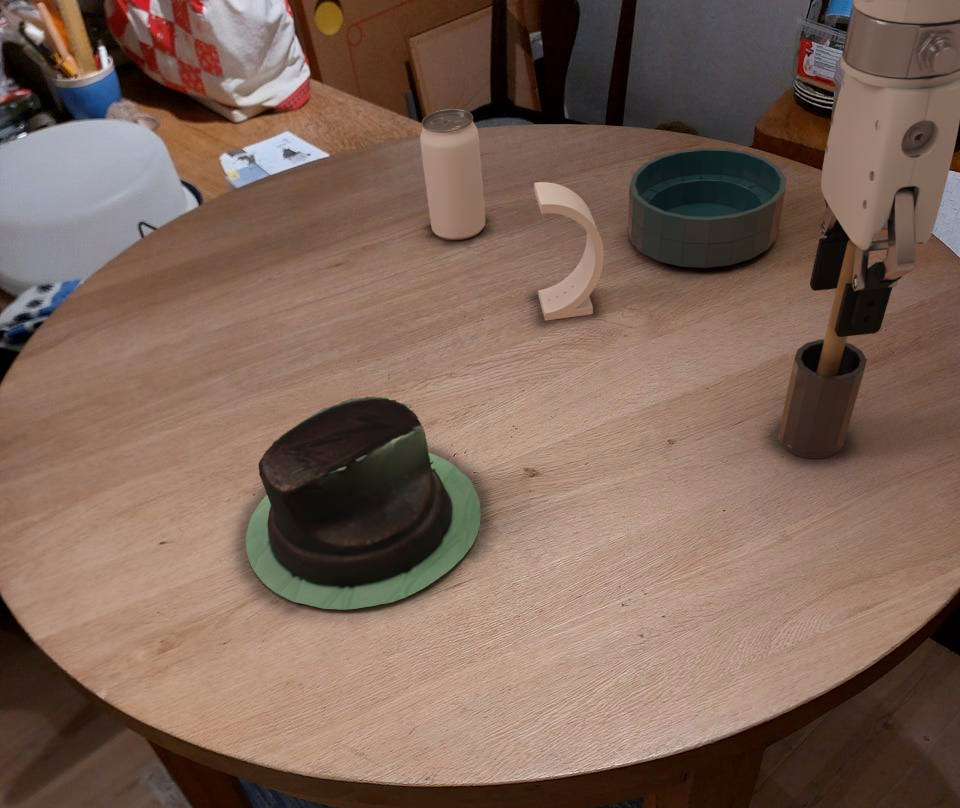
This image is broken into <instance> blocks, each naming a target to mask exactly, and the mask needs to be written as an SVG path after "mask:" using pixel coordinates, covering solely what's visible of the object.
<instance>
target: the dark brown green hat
mask: <svg viewBox="0 0 960 808" xmlns="http://www.w3.org/2000/svg"><path fill="white" fill-rule="evenodd" d="M408 406H409V407H408ZM412 407H413V406H411V403H410V402H402V403H401V402H399V400H398V399H389V398H388V397H387V396H386V397H382V396H369V395H367V396H364V397H357V398H352V397H351V398H349V399H346V400H343V401H341V402H339V403H337V404H333V405H331V406H328V407H323V408H321V409H319V410H318V411H317V412H315V413H314V414H312V415H310V416H307V418H305V419H303V420H302V421H300V422H298V424H296V426H294V427H292V428H291V429H289V430H287V431H286V432H284V433H283V434H281V435H280V436H279V437H278V438H276V440H275V441H273V442H272V444H271V445H270V446H269V447H268V448H267V449H266V450H265V452H264V453H263V455H262V457H261V458H260V459H259V462H258V464H257V465H258V466H257V467H258V474H259V475H258V476H259V477H260V479H261V482H262V485H263V488H264V491H265V493H266V495H265V496H264V497H263V499H262V500H261V501H260V503H259V504H258V505H257V507H256V508H255V510H254V512H253V513H252V515H251V516H250V518H249V519H250V520H249V522H248V525H247V529H246V534H245V550H246V556H247V559H248V562H249V565H250V566H251V568H252V571H253V572H254V573H255V574H256V577H258V579H259V580H260V581H261V583H263V584H264V585H265V587H267V588H269V590H271V591H272V592H274V593H275V594H276V595H279V596H281V597H283V598H285V599H287V600H288V601H291V602H293V603H297V604H302V605H307V606H311V607H316V608H319V609H322V610H323V609H324V610H343V611H344V610H345V611H346V610H357V609H362V608H368V607H375V606H379V605H384V604H385V605H386V604H391V603H394V602H396V601H399V600H403V599H405V598H408V597H409V596H411V595H413V594H416V593H418V592H419V591H421V590H423V589H425V588H426V587H428V586H430V585H431V584H433V583H434V582H435V581H437V580H438V579H440V578H441V577H443V576H444V575H445V574H447V573H448V572H449V571H451V570H452V569H453V568H454V567H455V566H456V565H458V563H459V562H460V561H462V559H463V558H464V557H465V556H466V554H467V553H468V552H469V550H470V549H471V548H472V547H473V545H474V543H475V541H476V539H477V537H478V535H479V531H480V528H481V519H482V511H481V502H480V498H479V495H478V493H477V490H476V488H475V486H474V483H473V482H472V481H471V479H470V478H469V477H468V476H467V475H466V474H465V473H463V472H462V471H461V470H460V469H459V468H458V467H456V466H455V465H454V464H453V463H452V462H450V461H448V460H447V459H445V458H442V457H440V456H438V455H437V454H435V453H431V452H429V448H428V446H429V445H428V441H427V438H426V437H427V435H426V431H425V429H424V426H423V425H422V423H421V421H420V420H419V417H418V415H416V413H415V411H413V410H412V409H410V408H412Z"/></svg>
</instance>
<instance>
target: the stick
mask: <svg viewBox="0 0 960 808" xmlns="http://www.w3.org/2000/svg"><path fill="white" fill-rule="evenodd" d="M855 249H856V245H855V244H854V243H853V242H852V241H851V239H850V240H849V241H848V243H847V247H846V252H845V256H844V260H843V264H842V268H841V273H840V277H839V281H838V285H837V288H836V290H835V294H834V297H833V302H832V307H831V310H830V315H829V319H828V323H827V327H826V332H825V336H824V339H823V340H824V344H823V348H822V352H821V356H820V361H819V365H818V369H817V373H819V374H822V375H826V376H837V374H838V370H839V366H840V363H841V359H842V355H843V351H844V347H845V343H847V340H848V336H845V337H838V336H837V335H836V333H835V331H834V330H835V325H836V321H837V317H838V313H839V309H840V305H841V301H842V297H843V293H844V289H845V284H846V283H852V277H853V268H854V258H855Z"/></svg>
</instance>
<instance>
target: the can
mask: <svg viewBox="0 0 960 808" xmlns="http://www.w3.org/2000/svg"><path fill="white" fill-rule="evenodd" d="M421 126H422V129H421V132H420V137H419V142H420V151H421V152H420V153H421V160H422V167H423V175H424V183H425V190H426V198H427V204H428V212H429V220H430V228H431V230H432V232H433V233H434V234H435V235H436V236H437V237H438V238H439V239H442V240H444V241H445V240H446V241H465V240H467V239H468V240H469V239H471V238H473V237H475V236H478V235H479V234H480V233H481V232H482V230H483V229H484V227H485V226H486V209H485V207H486V206H485V197H484V196H485V195H484V183H483V171H482V160H481V148H480V137H479V131H478V128H477V126H476V124H475V122H474V116H473V114H472V113H471V112H470V111H468V110H466V109H460V108H445V109H441V110H436V111H434V112H431V113H429V114H427V115H425V116H424V117H423V118H422V120H421Z"/></svg>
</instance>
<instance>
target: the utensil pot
mask: <svg viewBox="0 0 960 808" xmlns="http://www.w3.org/2000/svg"><path fill="white" fill-rule="evenodd" d="M824 340H825V339H817V340H813V341H809V342H805V344H803V345H802V346H801V347H799V348H797V350H796V352H795V355H794V359H793V364H792V367H791V368H792V369H791V372H790V376H789V377H790V378H789V382H788V387H787V391H786V397H785V401H784V405H783V410H782V416H781V420H780V425H779V429H778V441H779V443H780V445H781V446H782V447H783V449H784V450H786V451H787V452H788V453H790V454H792V455H795V456H796V457H800V458H803V459H811V460H816V459H817V460H819V459H825V458H829V457H831V456H834V455H835V454H837V453H838V452H840V451H841V449H842V448H843V446H844V444H845V439H846V436H847V433H848V430H849V429H848V428H849V426H850V422H851V419H852V416H853V413H854V412H853V411H854V408H855V405H856V401H857V397H858V394H859V391H860V388H861V384H862V381H863V377H864V374H865V369H866V367H867V362H868V359H867V357H866V355H865V353H864V351H863V350H861V349H860V348H858V347H857V346H855V345H853V344H852V343H849V342H846V343H845V347H844V351H843V355H842V359H841V363H840V366H839V370H838V374H837V376H826V375H822V374H819V373H817V369H818V365H819V361H820V356H821V352H822V348H823V344H824Z"/></svg>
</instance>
